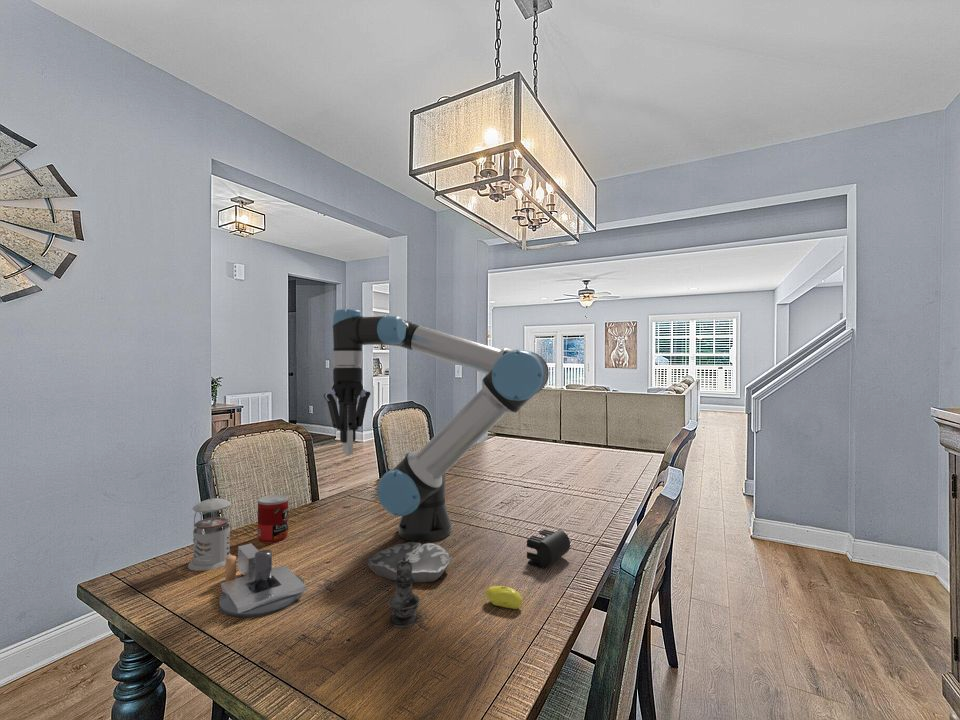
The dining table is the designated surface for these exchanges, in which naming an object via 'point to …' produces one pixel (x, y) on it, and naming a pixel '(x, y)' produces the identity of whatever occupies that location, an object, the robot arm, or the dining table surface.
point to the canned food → (272, 518)
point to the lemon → (504, 597)
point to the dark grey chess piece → (404, 597)
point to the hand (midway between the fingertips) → (348, 454)
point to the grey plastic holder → (239, 587)
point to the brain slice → (411, 561)
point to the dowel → (230, 568)
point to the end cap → (547, 548)
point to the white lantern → (210, 534)
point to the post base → (259, 609)
